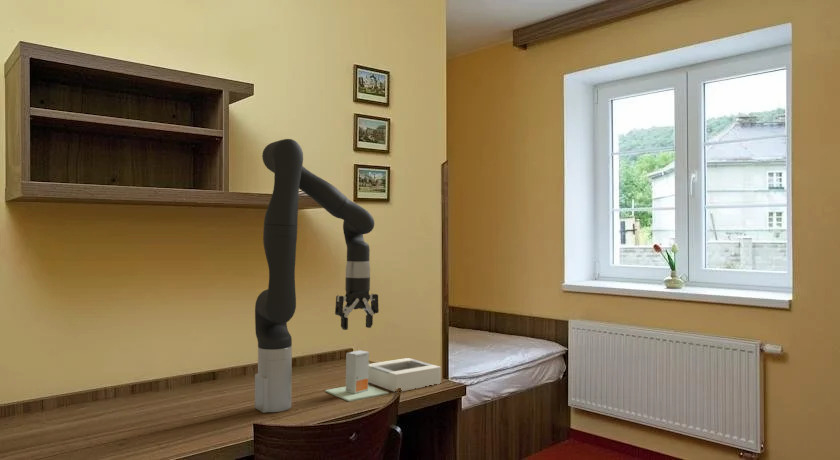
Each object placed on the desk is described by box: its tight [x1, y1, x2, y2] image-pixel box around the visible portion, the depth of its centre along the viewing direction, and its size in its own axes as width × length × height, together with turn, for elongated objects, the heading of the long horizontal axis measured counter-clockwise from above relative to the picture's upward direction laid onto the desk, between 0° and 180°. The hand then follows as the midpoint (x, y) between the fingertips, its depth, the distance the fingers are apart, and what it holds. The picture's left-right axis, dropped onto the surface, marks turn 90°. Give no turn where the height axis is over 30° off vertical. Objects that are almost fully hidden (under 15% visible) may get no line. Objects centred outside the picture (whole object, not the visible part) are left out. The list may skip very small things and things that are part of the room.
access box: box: [368, 357, 442, 393], centre depth 197 cm, size 18×18×6 cm
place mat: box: [325, 384, 389, 402], centre depth 184 cm, size 14×14×1 cm
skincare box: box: [345, 349, 370, 394], centre depth 184 cm, size 6×4×12 cm
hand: (356, 328), depth 184 cm, fingers open, 8 cm apart
